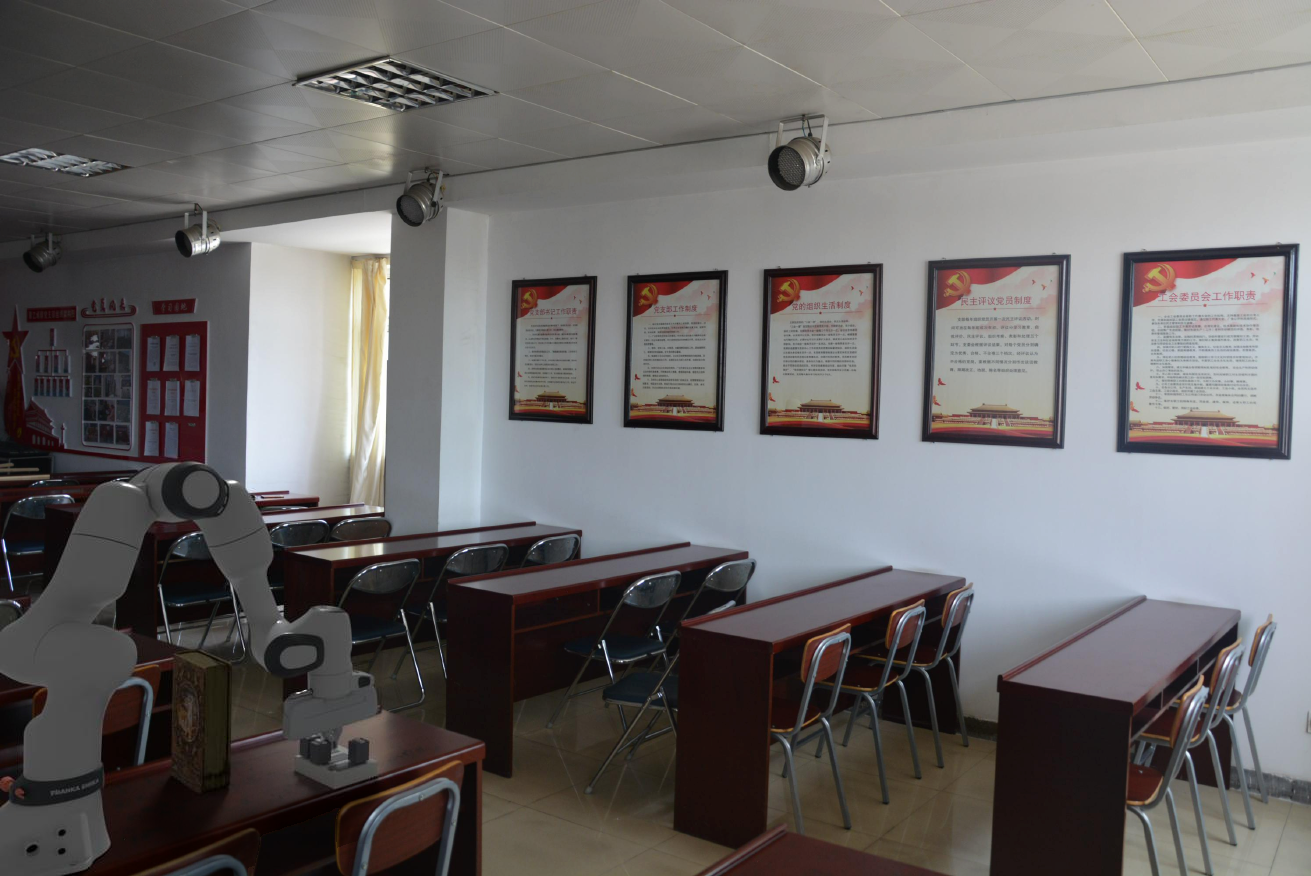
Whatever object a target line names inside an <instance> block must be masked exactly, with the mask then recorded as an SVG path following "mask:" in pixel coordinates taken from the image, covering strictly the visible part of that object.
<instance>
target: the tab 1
mask: <svg viewBox="0 0 1311 876" xmlns="http://www.w3.org/2000/svg"><path fill="white" fill-rule="evenodd" d="M321 736H322V735H321V734H316V735H313V736H310V737H306V738H303V739H300V740H299V754H298V755H301V756H303V757H305V758H310V742H313V741H315V740H316V739H322V737H321Z"/></svg>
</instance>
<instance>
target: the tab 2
mask: <svg viewBox="0 0 1311 876" xmlns="http://www.w3.org/2000/svg"><path fill="white" fill-rule="evenodd" d="M347 749H348V761H351V762H353V763H355V764H357V763H361V762H364V761H367V760H369V758H370V740H368V739H365V738H363V737H354V738H352V739H351V740H348V742H347Z"/></svg>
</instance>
